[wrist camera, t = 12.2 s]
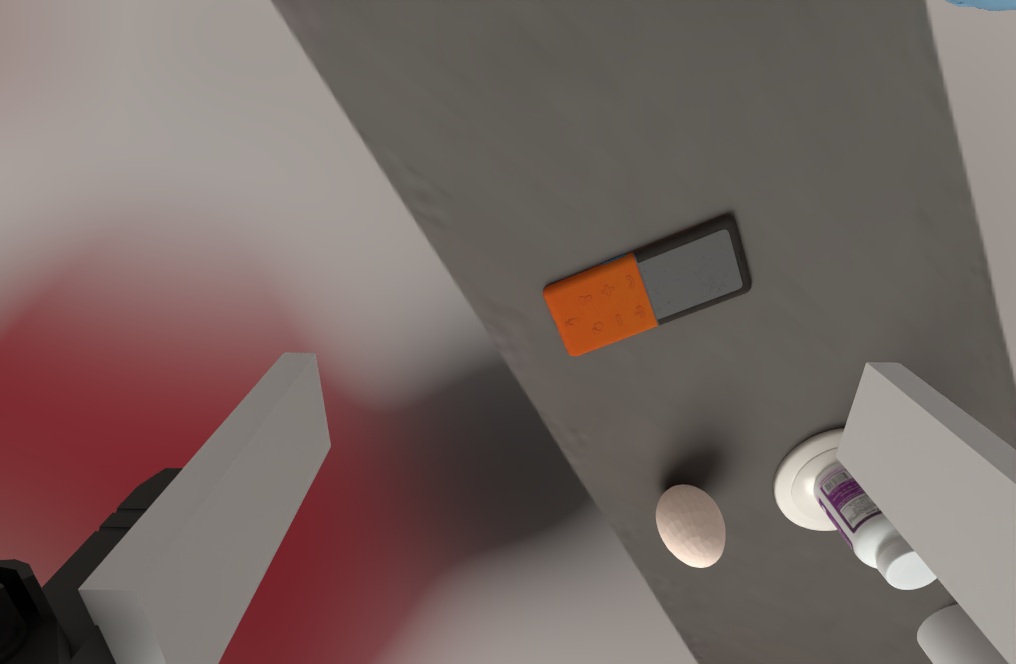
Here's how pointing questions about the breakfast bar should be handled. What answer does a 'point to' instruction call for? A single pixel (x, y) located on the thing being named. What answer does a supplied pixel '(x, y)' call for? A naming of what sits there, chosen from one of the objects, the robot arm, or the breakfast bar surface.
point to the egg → (691, 525)
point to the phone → (649, 286)
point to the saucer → (806, 480)
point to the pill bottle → (869, 530)
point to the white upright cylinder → (956, 639)
